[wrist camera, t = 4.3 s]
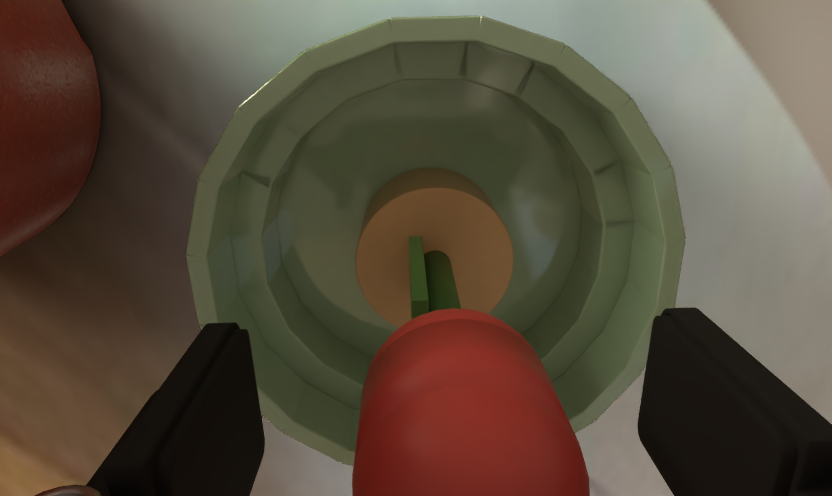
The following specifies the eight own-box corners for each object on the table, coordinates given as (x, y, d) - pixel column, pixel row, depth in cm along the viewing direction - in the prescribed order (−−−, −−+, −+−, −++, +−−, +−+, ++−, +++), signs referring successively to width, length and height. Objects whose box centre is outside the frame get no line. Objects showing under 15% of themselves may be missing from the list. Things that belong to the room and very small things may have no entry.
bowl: (638, 21, 18) (724, 10, 13) (598, 382, 23) (649, 469, 18) (211, 31, 17) (141, 22, 13) (263, 394, 22) (227, 484, 18)
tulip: (500, 165, 19) (722, 419, 6) (495, 294, 20) (659, 714, 7) (358, 168, 19) (257, 435, 6) (365, 298, 20) (302, 728, 7)
